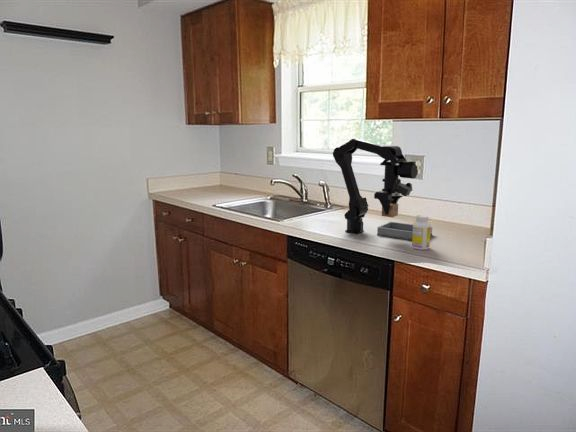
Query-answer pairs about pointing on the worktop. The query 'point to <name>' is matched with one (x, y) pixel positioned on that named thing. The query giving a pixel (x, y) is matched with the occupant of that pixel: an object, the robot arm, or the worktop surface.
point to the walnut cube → (391, 210)
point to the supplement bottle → (421, 233)
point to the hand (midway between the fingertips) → (389, 213)
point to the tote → (397, 230)
